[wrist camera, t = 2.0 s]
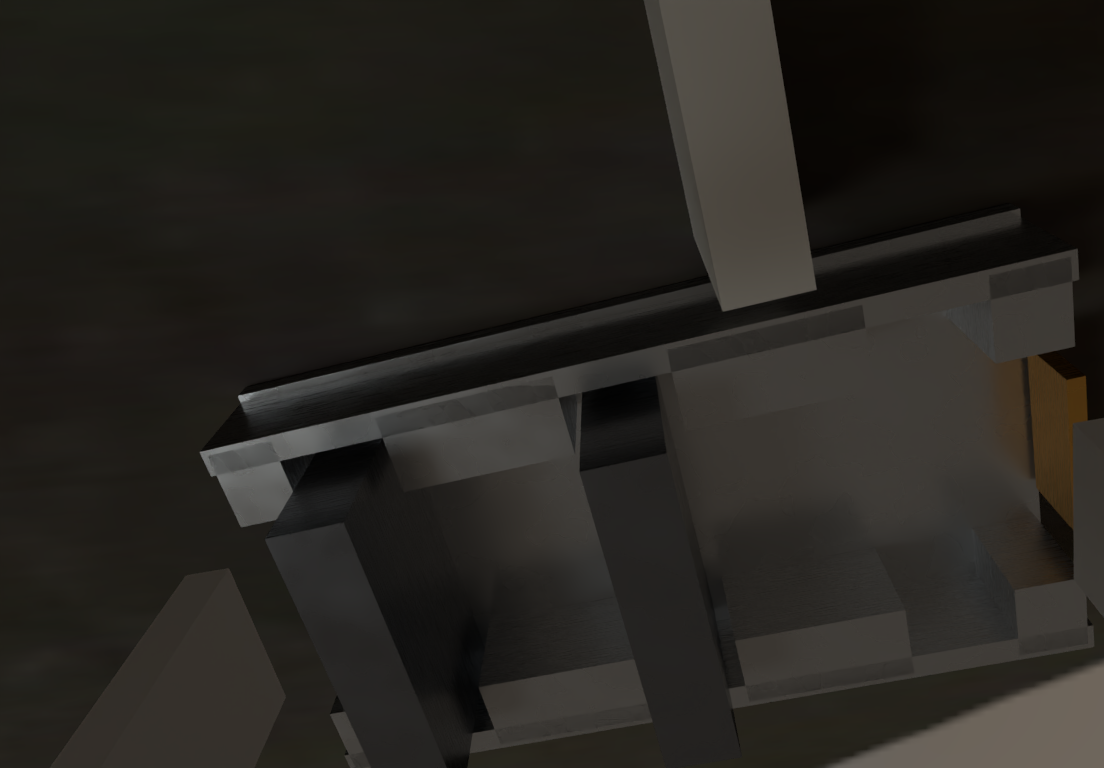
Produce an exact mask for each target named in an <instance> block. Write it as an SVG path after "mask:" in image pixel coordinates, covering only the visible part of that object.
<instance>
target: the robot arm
mask: <svg viewBox="0 0 1104 768" xmlns="http://www.w3.org/2000/svg"><path fill="white" fill-rule="evenodd" d="M1073 532H1074V580H1075V582H1076V583H1077V584H1078V585H1079V587H1080V588H1081V589H1082V590H1083V592H1084V593H1085V594H1086V596H1087V597H1088V598H1089V599H1090V601H1091V602H1092V603H1093V604H1094V606H1095V607H1096V608H1097V609H1098V611H1099V612H1100V613H1101V615H1102V616H1103V617H1104V418H1101V419H1095V420H1089V421H1083V422H1077V423H1073ZM285 698H286V696H285V694H284V692H283V689H282V687H281V685H280V683H279V680H278V678H277V676H276V674H275V671H274V669H273V667H272V665H271V662H270V660H269V658H268V656H267V653H266V651H265V649H264V647H263V644H262V642H261V640H260V638H259V635H258V633H257V631H256V628H255V626H254V624H253V622H252V619H251V617H250V615H249V613H248V610H247V608H246V606H245V604H244V601H243V599H242V597H241V595H240V592H239V590H238V588H237V586H236V583H235V581H234V579H233V577H232V574H231V572H230V570H229V568H227V569H221V570H215V571H210V572H204V573H198V574H192V575H186V576H185V578H184V579H183V580H182V582H181V583H180V585H179V586H178V587H177V589H176V590H175V592H174V593H173V594H172V596H171V597H170V599H169V600H168V602H167V603H166V604H165V606H164V607H163V609H162V610H161V611H160V613H159V614H158V616H157V617H156V618H155V620H154V621H153V623H152V624H151V626H150V627H149V628H148V630H147V631H146V633H145V634H144V635H143V637H142V638H141V640H140V641H139V643H138V644H137V645H136V647H135V648H134V650H133V651H132V652H131V654H130V655H129V657H128V658H127V659H126V661H125V662H124V664H123V665H122V667H121V668H120V669H119V671H118V672H117V674H116V675H115V676H114V678H113V679H112V681H111V682H110V683H109V685H108V686H107V688H106V689H105V691H104V692H103V693H102V695H101V696H100V698H99V699H98V700H97V702H96V703H95V705H94V706H93V708H92V709H91V710H90V712H89V713H88V715H87V716H86V717H85V719H84V720H83V722H82V723H81V724H80V726H79V727H78V729H77V730H76V732H75V733H74V734H73V736H72V737H71V739H70V740H69V741H68V743H67V744H66V746H65V747H64V748H63V750H62V751H61V753H60V754H59V756H58V757H57V758H56V760H55V761H54V763H53V764H52V765H51V767H50V768H254V767H255V765H256V763H257V760H258V758H259V756H260V754H261V751H262V749H263V747H264V745H265V742H266V740H267V738H268V736H269V733H270V731H271V729H272V727H273V724H274V722H275V720H276V718H277V716H278V713H279V711H280V709H281V707H282V704H283V702H284V700H285Z"/></svg>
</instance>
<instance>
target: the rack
mask: <svg viewBox="0 0 1104 768" xmlns="http://www.w3.org/2000/svg"><path fill="white" fill-rule="evenodd" d="M811 257H812V264H813V270H814V276H815V282H816V288H817V290H813V291H809V292H805V293H801V294H796V295H792V296H788V297H784V298H779V299H775V300H771V301H767V302H762V303H758V304H754V305H750V306H745V307H741V308H737V309H733V310H728V311H724V312H723V311H722V309H721V306H720V303H719V301H718V298H717V296H716V293H715V290H714V288H713V285H712V283H711V280H710V278H709V276H706V277H702V278H698V279H693V280H689V281H685V282H681V283H677V284H673V285H669V286H664V287H660V288H656V289H652V290H648V291H644V292H639V293H635V294H631V295H627V296H623V297H619V298H615V299H610V300H606V301H602V302H598V303H594V304H590V305H586V306H581V307H577V308H573V309H569V310H565V311H561V312H557V313H552V314H548V315H544V316H540V317H536V318H532V319H527V320H523V321H519V322H515V323H511V324H507V325H503V326H498V327H494V328H490V329H486V330H482V331H478V332H474V333H469V334H465V335H461V336H457V337H453V338H449V339H444V340H440V341H436V342H432V343H428V344H424V345H420V346H415V347H411V348H407V349H403V350H399V351H395V352H391V353H386V354H382V355H378V356H374V357H370V358H366V359H361V360H357V361H353V362H349V363H345V364H341V365H337V366H332V367H328V368H324V369H320V370H316V371H312V372H308V373H303V374H299V375H295V376H291V377H287V378H283V379H278V380H274V381H270V382H266V383H262V384H258V385H254V386H249V387H245V388H244V389H243V391H242V392H241V393H240V394H239V395H238V398H239V400H240V402H241V403H240V405H239V406H238V407H237V408H236V409H235V411H234V412H233V413H232V414H231V415H230V416H229V418H228V419H227V420H226V421H225V422H224V424H223V425H222V426H221V427H220V428H219V430H218V431H217V432H216V433H215V434H214V436H213V437H212V438H211V439H210V440H209V442H208V443H207V444H206V445H205V446H204V447H203V449H202V450H201V451H200V454H201V456H202V458H203V460H204V462H205V464H206V466H207V469H208V471H209V473H210V475H211V477H212V476H216V475H217V477H218V480H219V482H220V484H221V486H222V488H223V490H224V492H225V494H226V496H227V499H228V501H229V503H230V505H231V507H232V509H233V511H234V513H235V515H236V517H237V520H238V522H239V524H240V526H241V527H245V526H249V525H254V524H259V523H263V522H268V521H272V520H276V521H275V523H274V525H273V526H272V528H271V530H270V531H269V533H268V535H267V536H266V538H265V541H266V543H267V545H268V547H269V549H270V552H271V554H272V556H273V558H274V560H275V562H276V564H277V567H278V569H279V571H280V573H281V575H282V577H283V579H284V582H285V584H286V586H287V588H288V590H289V592H290V595H291V597H292V599H293V601H294V603H295V605H296V607H297V610H298V612H299V614H300V616H301V618H302V620H303V622H304V625H305V627H306V629H307V631H308V633H309V635H310V637H311V640H312V642H313V644H314V646H315V648H316V650H317V653H318V655H319V657H320V659H321V661H322V663H323V665H324V668H325V670H326V672H327V674H328V676H329V678H330V680H331V683H332V685H333V687H334V689H335V691H336V693H337V696H336V699H335V702H334V704H333V707H332V710H331V713H330V716H331V718H332V720H333V722H334V724H335V726H336V728H337V730H338V732H339V734H340V737H341V739H342V741H343V743H344V745H345V747H346V752H345V758H346V760H347V762H348V764H349V766H350V768H467V766H468V760H469V753H474V752H480V751H486V750H492V749H498V748H504V747H510V746H516V745H521V744H527V743H533V742H539V741H545V740H551V739H557V738H563V737H568V736H574V735H580V734H586V733H592V732H598V731H604V730H609V729H615V728H621V727H627V726H633V725H639V724H645V723H651V722H653V725H654V728H655V732H656V735H657V738H658V742H659V745H660V749H661V752H662V755H663V759H664V762H665V766H666V768H678V767H685V766H691V765H697V764H703V763H709V762H715V761H721V760H728V759H734V758H740V757H742V754H741V749H740V744H739V738H738V733H737V728H736V722H735V717H734V712H733V708H739V707H744V706H750V705H756V704H762V703H768V702H774V701H780V700H785V699H791V698H797V697H803V696H809V695H815V694H821V693H827V692H832V691H838V690H844V689H850V688H856V687H862V686H868V685H874V684H879V683H885V682H891V681H897V680H903V679H909V678H915V677H920V676H926V675H932V674H938V673H944V672H950V671H956V670H962V669H967V668H973V667H979V666H985V665H991V664H997V663H1003V662H1008V661H1014V660H1020V659H1026V658H1032V657H1038V656H1044V655H1050V654H1055V653H1061V652H1067V651H1073V650H1079V649H1085V648H1091V647H1094V631H1093V624H1092V623H1091V622H1090V621H1089V619H1088V618H1087V605H1086V594H1085V593H1084V592H1083V590H1082V589H1081V588H1080V587H1079V585H1078V584H1077V583H1076V582H1075V580H1074V563H1073V562H1072V561H1071V559H1070V558H1069V557H1068V556H1067V554H1066V553H1065V552H1064V551H1063V550H1062V548H1061V547H1060V546H1059V545H1058V544H1057V542H1056V541H1055V540H1054V539H1053V537H1052V536H1051V535H1050V534H1049V533H1048V531H1047V530H1046V529H1045V528H1044V526H1043V525H1042V524H1041V519H1040V503H1039V491H1040V493H1041V494H1042V495H1043V496H1044V497H1045V498H1046V500H1047V501H1048V502H1049V503H1050V504H1051V505H1052V506H1053V508H1054V509H1055V510H1056V511H1057V512H1058V513H1059V515H1060V516H1061V517H1062V518H1063V519H1064V520H1065V521H1066V523H1067V524H1068V525H1069V526H1070V527H1071V528H1072V529H1073V423H1077V422H1083V421H1088V418H1087V393H1086V376H1085V375H1084V374H1083V373H1082V372H1080V371H1079V370H1078V369H1077V368H1075V367H1074V366H1073V365H1072V364H1070V363H1069V362H1068V361H1067V360H1065V359H1064V358H1063V357H1062V356H1061V355H1059V354H1058V353H1057V352H1056V351H1057V350H1061V349H1066V348H1071V347H1075V333H1074V311H1073V288H1072V281H1076V280H1079V265H1078V249H1077V248H1076V247H1074V246H1072V245H1070V244H1068V243H1067V242H1065V241H1063V240H1061V239H1059V238H1058V237H1056V236H1054V235H1052V234H1050V233H1049V232H1047V231H1045V230H1043V229H1041V228H1040V227H1038V226H1036V225H1034V224H1033V223H1031V222H1029V221H1027V220H1025V219H1024V218H1022V217H1021V214H1020V208H1018V207H1017V206H1015V205H1013V204H1011V203H1009V204H1005V205H1001V206H996V207H992V208H988V209H984V210H980V211H976V212H971V213H967V214H963V215H959V216H955V217H951V218H947V219H942V220H938V221H934V222H930V223H926V224H922V225H918V226H913V227H909V228H905V229H901V230H897V231H893V232H888V233H884V234H880V235H876V236H872V237H868V238H864V239H859V240H855V241H851V242H847V243H843V244H839V245H835V246H830V247H826V248H822V249H818V250H814V251H811Z"/></svg>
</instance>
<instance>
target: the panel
mask: <svg viewBox="0 0 1104 768" xmlns="http://www.w3.org/2000/svg"><path fill="white" fill-rule="evenodd" d="M644 3H645V8H646V13H647V17H648V22H649V27H650V32H651V36H652V41H653V46H654V50H655V55H656V60H657V65H658V69H659V74H660V79H661V84H662V88H663V93H664V98H665V102H666V107H667V112H668V117H669V121H670V126H671V131H672V136H673V140H674V145H675V150H676V154H677V159H678V164H679V169H680V173H681V178H682V183H683V187H684V192H685V197H686V202H687V206H688V211H689V216H690V221H691V225H692V230H693V235H694V239H695V241H696V244H697V246H698V249H699V252H700V254H701V257H702V259H703V262H704V265H705V267H706V270H707V272H708V275H709V278H710V280H711V283H712V285H713V288H714V290H715V293H716V296H717V298H718V301H719V303H720V306H721V309H722V311H723V312H724V311H728V310H733V309H737V308H741V307H745V306H750V305H754V304H758V303H762V302H767V301H771V300H775V299H779V298H784V297H788V296H792V295H796V294H801V293H805V292H809V291H813V290H817V288H816V282H815V276H814V270H813V264H812V257H811V251H810V245H809V239H808V232H807V226H806V220H805V214H804V208H803V201H802V195H801V189H800V183H799V176H798V170H797V164H796V158H795V152H794V145H793V139H792V133H791V127H790V120H789V114H788V108H787V102H786V96H785V89H784V83H783V77H782V71H781V65H780V58H779V52H778V46H777V40H776V33H775V27H774V21H773V15H772V9H771V2H770V0H644Z"/></svg>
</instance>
